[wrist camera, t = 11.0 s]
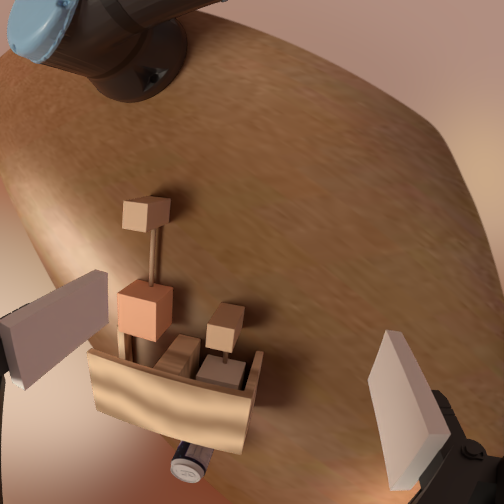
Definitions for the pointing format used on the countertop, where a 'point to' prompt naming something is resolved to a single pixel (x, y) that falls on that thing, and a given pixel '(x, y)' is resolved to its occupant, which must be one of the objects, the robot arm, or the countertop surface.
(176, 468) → the beverage can
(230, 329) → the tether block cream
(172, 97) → the countertop surface
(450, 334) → the countertop surface
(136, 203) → the tether block terracotta
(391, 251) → the countertop surface
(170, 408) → the shelf
